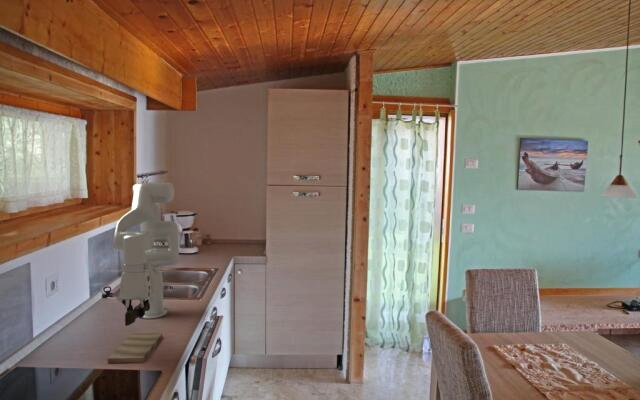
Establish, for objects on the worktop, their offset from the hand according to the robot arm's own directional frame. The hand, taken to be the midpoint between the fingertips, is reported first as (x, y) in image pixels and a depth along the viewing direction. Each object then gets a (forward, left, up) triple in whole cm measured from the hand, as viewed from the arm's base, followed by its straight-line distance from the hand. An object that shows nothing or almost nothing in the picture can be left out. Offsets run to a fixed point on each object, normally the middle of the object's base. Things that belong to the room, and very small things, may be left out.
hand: (136, 316), depth 175 cm
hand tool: (0, 0, -1) cm, 1 cm away
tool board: (0, 0, -12) cm, 12 cm away
